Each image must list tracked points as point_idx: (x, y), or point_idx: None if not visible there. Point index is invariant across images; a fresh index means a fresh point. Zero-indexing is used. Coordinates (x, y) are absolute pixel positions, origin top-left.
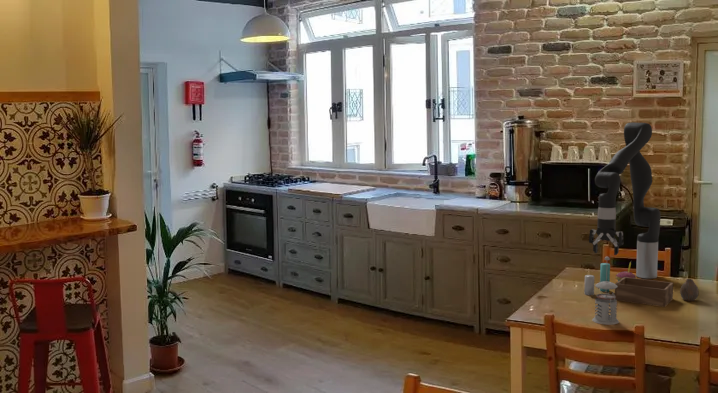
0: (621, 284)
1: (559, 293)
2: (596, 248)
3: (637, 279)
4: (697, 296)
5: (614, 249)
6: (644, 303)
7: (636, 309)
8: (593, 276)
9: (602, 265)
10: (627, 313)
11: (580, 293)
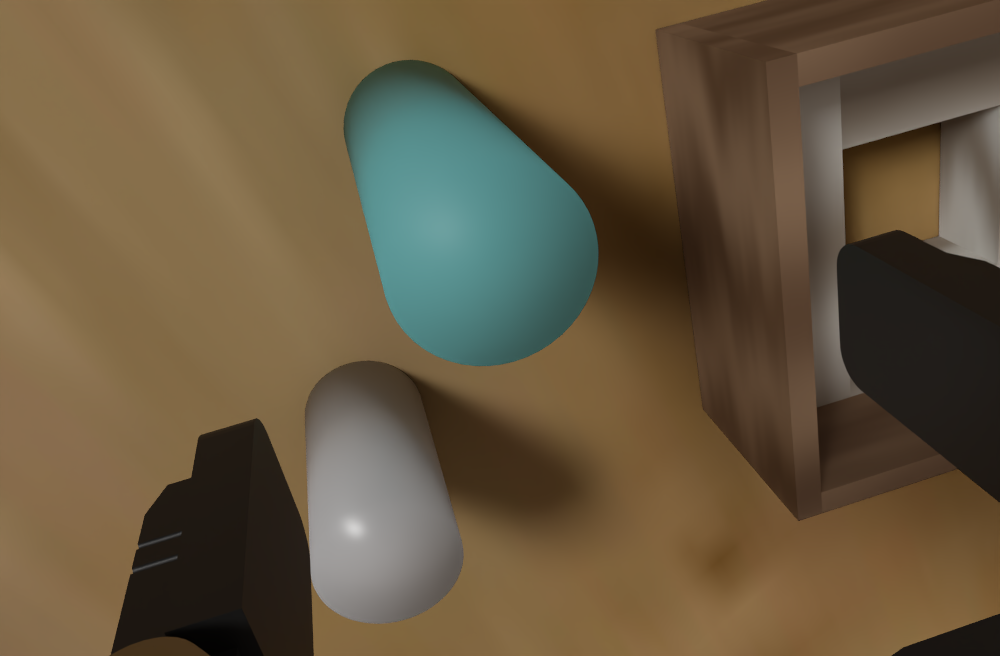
0: (876, 493)
1: (105, 634)
2: (296, 613)
3: (977, 35)
4: None
5: (966, 465)
6: None
7: (965, 515)
8: (447, 541)
9: (478, 360)
10: None
11: None
